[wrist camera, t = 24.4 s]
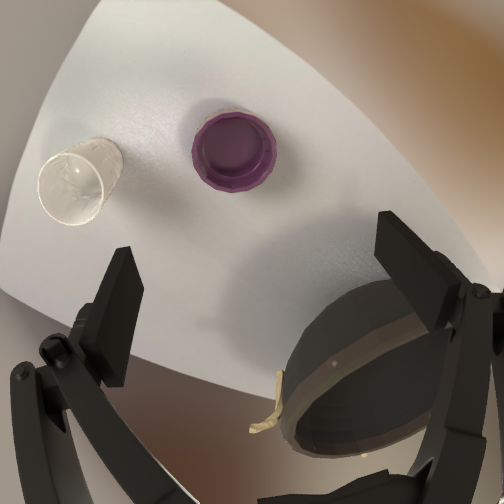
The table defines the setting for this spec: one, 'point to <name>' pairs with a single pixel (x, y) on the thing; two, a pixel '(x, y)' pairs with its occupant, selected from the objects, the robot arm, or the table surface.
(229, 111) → the plum dish
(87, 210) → the white cup
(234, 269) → the table surface
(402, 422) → the bowl
